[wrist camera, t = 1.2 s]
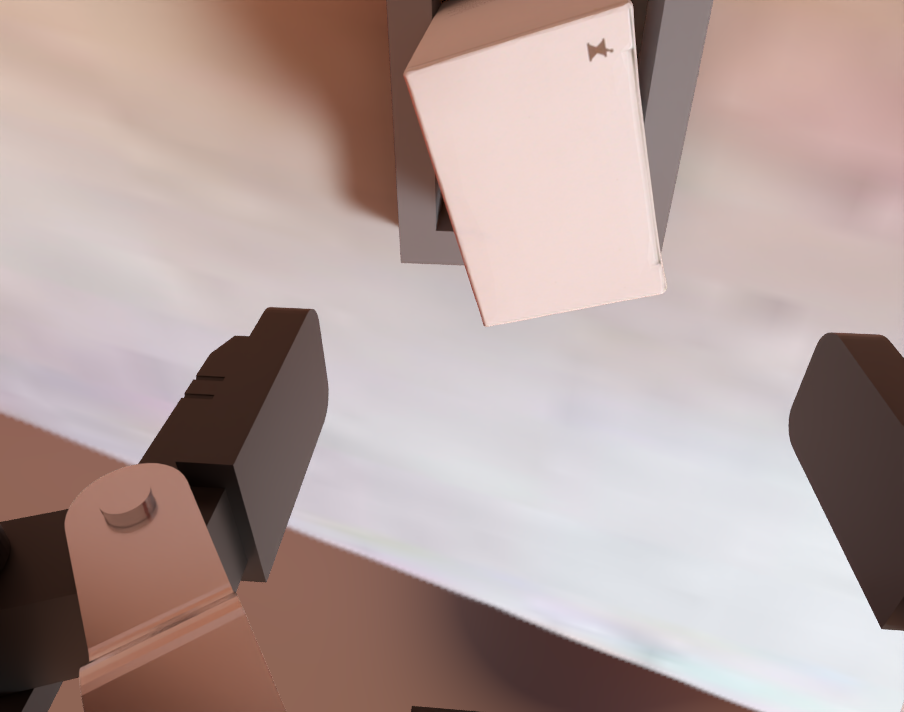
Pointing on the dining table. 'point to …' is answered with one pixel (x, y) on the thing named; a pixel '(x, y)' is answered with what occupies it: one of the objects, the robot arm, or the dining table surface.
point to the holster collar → (662, 98)
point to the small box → (540, 152)
